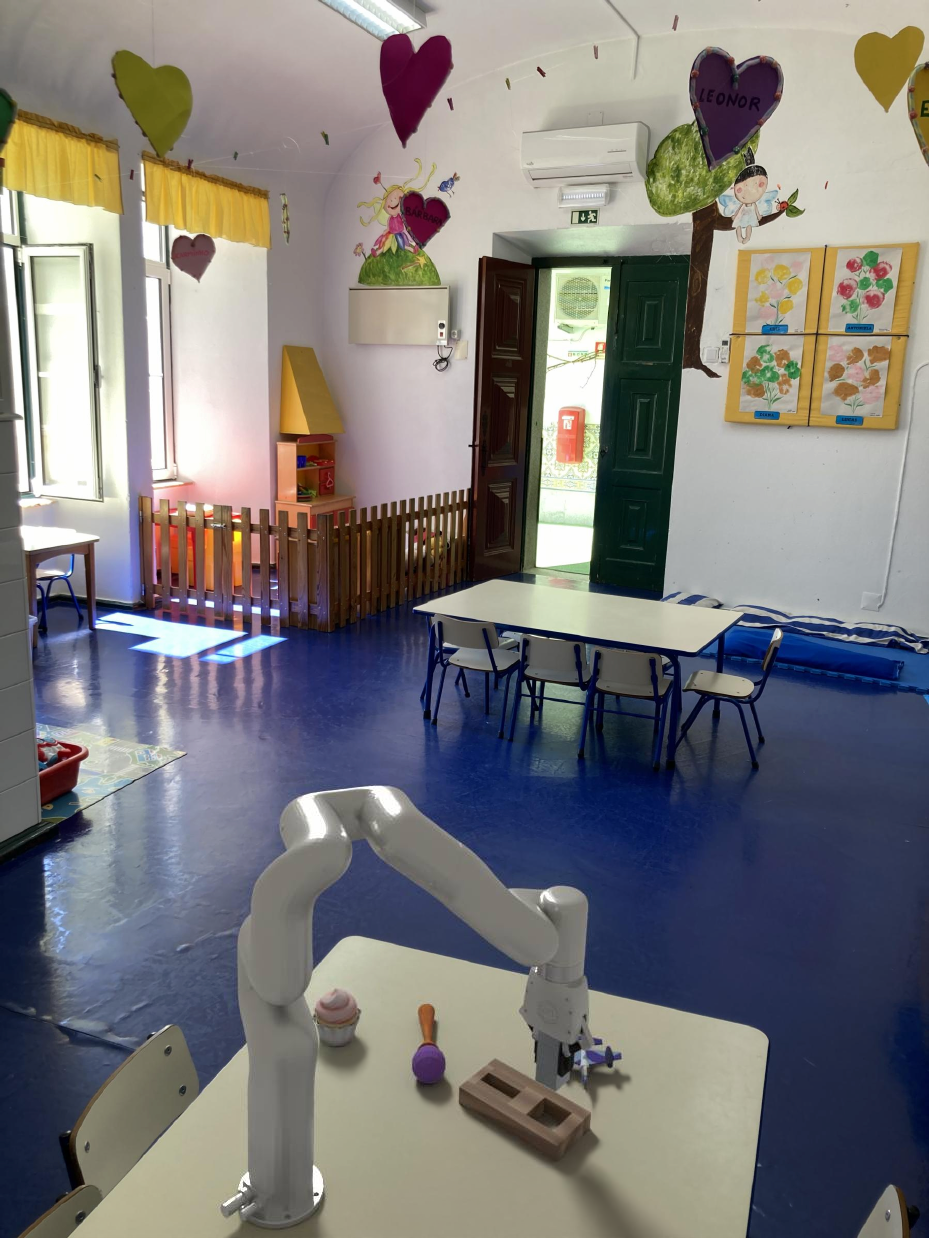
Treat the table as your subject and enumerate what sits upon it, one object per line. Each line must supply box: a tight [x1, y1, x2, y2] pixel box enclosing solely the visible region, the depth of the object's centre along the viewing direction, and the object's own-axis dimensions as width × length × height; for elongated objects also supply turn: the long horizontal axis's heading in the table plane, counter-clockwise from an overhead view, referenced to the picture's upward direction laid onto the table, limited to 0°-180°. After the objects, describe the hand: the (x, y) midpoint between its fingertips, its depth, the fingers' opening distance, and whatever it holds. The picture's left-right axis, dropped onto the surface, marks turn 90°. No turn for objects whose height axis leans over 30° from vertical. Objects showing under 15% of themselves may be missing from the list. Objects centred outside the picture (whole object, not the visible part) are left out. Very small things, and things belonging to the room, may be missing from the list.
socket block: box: [458, 1057, 592, 1163], centre depth 162 cm, size 10×20×3 cm, turn 51°
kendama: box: [411, 1003, 447, 1084], centre depth 177 cm, size 6×6×20 cm
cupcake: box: [311, 987, 363, 1047], centre depth 180 cm, size 9×9×10 cm
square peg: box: [534, 1030, 571, 1093], centre depth 157 cm, size 4×4×10 cm
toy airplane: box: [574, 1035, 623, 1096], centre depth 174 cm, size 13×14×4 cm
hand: (553, 1064), depth 157 cm, fingers closed on square peg, 4 cm apart
